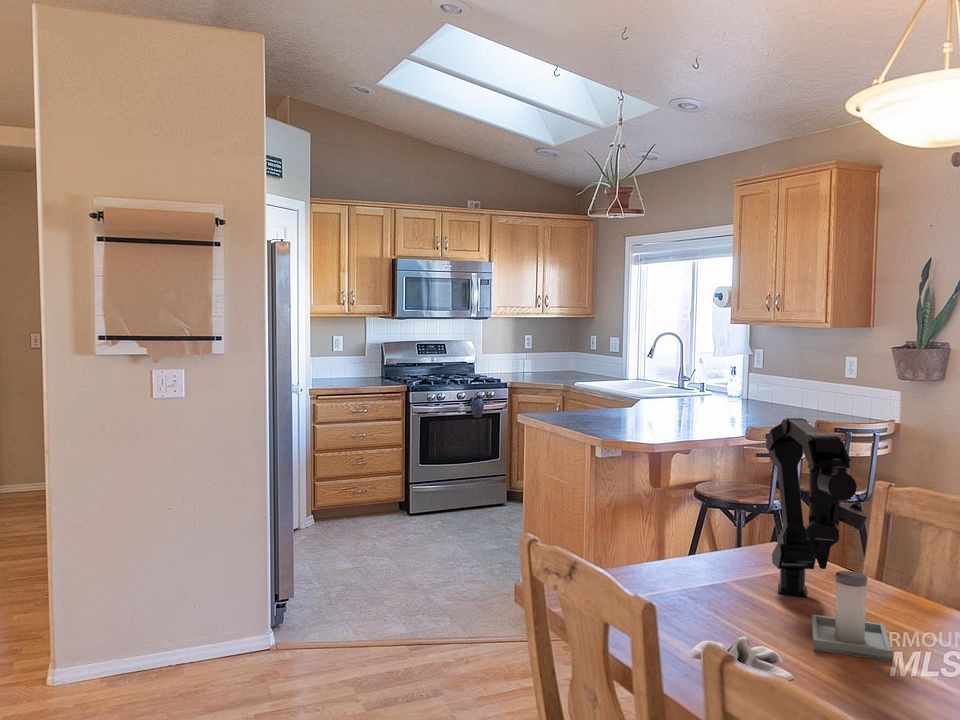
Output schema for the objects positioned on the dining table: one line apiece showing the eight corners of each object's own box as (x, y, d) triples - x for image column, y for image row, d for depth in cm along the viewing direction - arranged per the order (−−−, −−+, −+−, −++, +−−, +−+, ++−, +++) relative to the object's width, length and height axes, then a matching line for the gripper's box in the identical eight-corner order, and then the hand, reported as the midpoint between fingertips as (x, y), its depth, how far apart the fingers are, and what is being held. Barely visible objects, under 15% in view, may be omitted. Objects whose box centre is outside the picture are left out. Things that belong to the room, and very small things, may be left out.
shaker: (827, 635, 161) (829, 573, 160) (848, 630, 163) (850, 569, 163) (850, 646, 156) (852, 582, 155) (871, 641, 158) (873, 578, 157)
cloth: (680, 644, 160) (680, 615, 160) (772, 646, 159) (772, 617, 159) (704, 697, 138) (705, 664, 138) (811, 700, 137) (812, 666, 137)
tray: (811, 624, 169) (812, 614, 169) (883, 634, 164) (884, 623, 163) (813, 650, 156) (813, 639, 156) (891, 661, 151) (891, 650, 150)
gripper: (866, 502, 157) (866, 579, 157) (863, 488, 174) (862, 557, 174) (806, 498, 162) (806, 572, 162) (809, 484, 179) (809, 552, 179)
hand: (823, 563), depth 169 cm, fingers open, 9 cm apart
